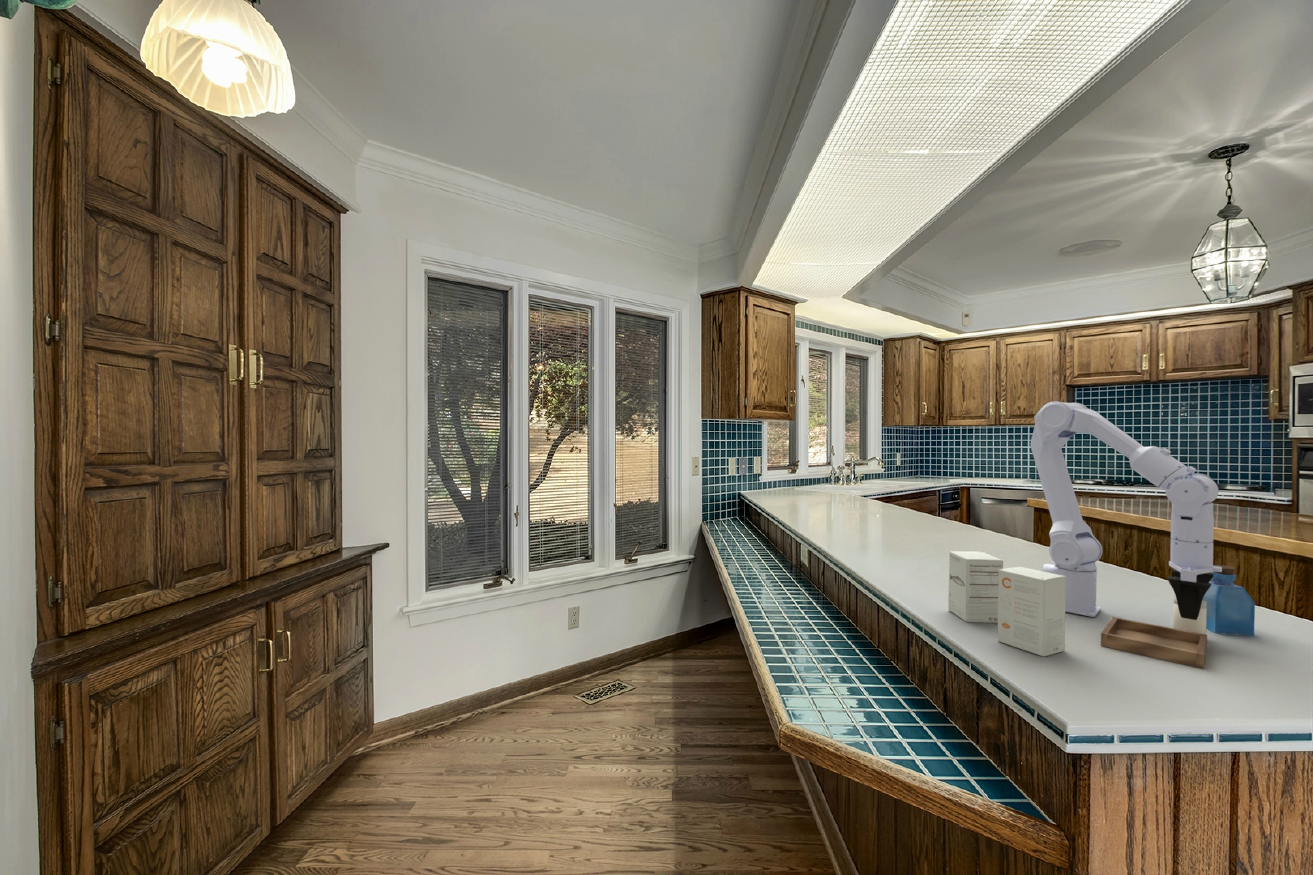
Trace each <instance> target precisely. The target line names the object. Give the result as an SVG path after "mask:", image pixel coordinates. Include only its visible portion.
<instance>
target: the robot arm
mask: <svg viewBox="0 0 1313 875" xmlns="http://www.w3.org/2000/svg"><path fill="white" fill-rule="evenodd" d="M1033 419H1034V423H1035V424H1034V428H1033V432H1032V435H1031V440H1030V449H1031V452H1032V456H1033V458H1034V463H1035V466H1036V470H1037V473H1038V476H1039V479H1040V483H1041V487H1042V491H1043V493H1044V497H1045V501H1046V504H1047V507H1048V512H1049V514H1050V518H1051V521H1052V526H1051V528H1050V530H1049V533H1048V535H1049V538H1050V543H1049V544H1050V545H1049V548H1048V549H1049V550H1048V552H1049V556H1050V559H1051V560H1052V561H1053V562H1054V564H1052V563H1044V564H1043V566H1042V568H1041V571H1043V572H1048V573H1053V574H1057V575H1062V576H1065V613H1070V614H1077V615H1081V616H1087V617H1091V618H1094V617H1097V615H1098V613H1099V612H1100V611H1101V610H1102V606H1099V605H1098V606H1097V581H1098V579H1097V576H1098V568H1097V565H1096V562H1098V561H1099V560H1100V559H1101V558H1102V555H1103V546H1102V544H1101V543H1100V541H1099V540H1098V539H1097V538H1096V537H1095V536H1094V534H1093V531H1092V527H1090V526H1089V524H1087V523H1086V522H1085V521H1084V520H1083V516H1082V513H1081V509H1080V506H1079V503H1078V501H1077V500H1078V499H1077V496H1076V493H1075V489H1074V486H1073V483H1072V479H1071V477H1070V476H1071V475H1070V473H1069V469H1068V467H1067V463H1066V460H1065V457H1064V453H1063V450H1062V448H1063V447H1064V446H1065V445H1066V443H1067V442H1068V441H1070V439H1071V437H1073V436H1075V435H1077V434H1078V433H1080V434H1085V435H1091V436H1093V437H1094V438H1096V439H1098V440H1099V441H1101V442H1103V443H1104V444H1105V445H1107V446H1109V447H1111V448H1112V449H1114V450H1115V451H1117V452H1118V453H1120V454H1121V455H1122V456H1124V457H1126V458H1127V459H1128V460H1129V466H1130V469H1132V471H1134V472H1136V473H1137V474H1139V475H1140V476H1142V477H1143V478H1144V479H1146V480H1147V481H1149V482H1150V483H1151V484H1153V485H1154V486H1155V487H1157V488H1159V489H1160V490H1162V491H1165V492H1164V493H1165V495H1166V497H1167V499H1168V500H1169V501H1170V502H1171V514H1170V552H1169V553H1170V560H1169V561H1168V566H1169V567H1170V568H1172V573H1173V575H1174V576H1172V575H1171V576H1170V575H1168V577H1167V581H1168V583H1169V585H1170V587H1171V588H1172V589H1173V590H1172V591H1173V592H1174V596H1176V599H1177V603H1178V608H1179V612H1180V616H1181V618H1186V619H1192V620H1197V618H1198V616H1199V612H1200V608H1201V603H1202V600H1203V597H1204V595H1205V593H1206V592H1207V591H1208V589H1209V588H1210V587H1211V583H1209V581H1212V578H1213V573H1211V572H1222V567H1218V566H1213V565H1214V530H1215V529H1214V527H1215V526H1214V525H1215V518H1214V503H1212V502H1213V501H1215V500H1216V499H1217V498H1218V496H1219V487H1218V485H1217V483H1216V482H1215V481H1214V479H1212V478H1211V477H1210V476H1209V475H1207V474H1203V473H1195V472H1196V471H1197V468H1195V467H1194V466H1192V465H1191V466H1187V465H1185V464H1184V463H1182V462H1181V461H1180V460H1178V459H1176V458H1174V457H1173V456H1172V455H1171V454H1172V451H1170V450H1169V449H1168V448H1166V447H1161V448H1159V446H1156V445H1155V446H1154V445H1152V446H1143V445H1142V444H1141V443H1139V442H1138V441H1137V440H1136V439H1134V438H1133V437H1131V436H1130V435H1129V434H1127V433H1126V432H1125V431H1123V430H1122V429H1120V428H1119V427H1118V426H1116V425H1115V424H1113V423H1112V422H1111V421H1110V420H1108V419H1106V418H1105V417H1104V416H1102V414H1100V413H1098V411H1095V410H1094V409H1091V408H1088V407H1087V406H1086V405H1085V404H1083V403H1081V402H1080V403H1079V402H1062V401H1051V402H1047V403H1046V404H1044V405H1043V406H1042V407H1041V408H1040V409H1039V410H1038V412H1037V413H1036V414H1035V415H1034V417H1033Z"/></svg>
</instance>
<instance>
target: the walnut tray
mask: <svg viewBox="0 0 1313 875" xmlns="http://www.w3.org/2000/svg"><path fill="white" fill-rule="evenodd" d="M1100 646H1101V647H1105V648H1110V649H1113V650H1118V651H1123V652H1128V653H1131V654H1135V655H1141V656H1146V657H1149V658H1154V659H1159V660H1164V661H1168V662H1171V663H1172V662H1173V663H1176V664H1182V665H1185V666H1186V665H1187V666H1190V667H1196V668H1199V669H1204V665H1205V659H1206V654H1207V649H1208V634H1206V635H1205V634H1200V633H1195V632H1190V631H1185V630H1179V629H1174V628H1173V627H1169V626H1164V625H1158V624H1152V623H1147V622H1143V621H1142V622H1141V621H1138V620H1137V621H1136V620H1134V619H1133V620H1132V619H1127V618H1121V617H1118V616H1117V617H1115V616H1112V618H1111V619H1110V620H1109V622H1108V623H1107V624H1106V626H1105V627H1104V628H1103V630H1102V631H1101V633H1100Z"/></svg>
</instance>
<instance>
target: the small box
mask: <svg viewBox="0 0 1313 875" xmlns="http://www.w3.org/2000/svg"><path fill="white" fill-rule="evenodd" d="M997 642H999V643H1003V644H1005V645H1008V646H1011V647H1015V648H1016V649H1021V650H1023V651H1027V652H1029V653H1032V654H1034V655H1038V656H1041V657H1047V656H1051V655H1054V654H1055V655H1056V654H1057V653H1061V652H1064V651H1065V650H1066V612H1065V576H1062V575H1057V574H1053V573H1048V572H1043V571H1042V570H1037V569H1033V568H1028V567H1023V566H1014V567H1007V568H1005V567H1004V568H1003V569H999V582H998V623H997Z"/></svg>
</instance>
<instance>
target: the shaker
mask: <svg viewBox="0 0 1313 875" xmlns="http://www.w3.org/2000/svg"><path fill="white" fill-rule="evenodd" d="M1206 612H1207V602H1206V601H1205V600H1202V603H1201V608H1200V612H1199V616H1198V618H1197V620H1192V619H1186V618H1181V616H1180V612H1179V608H1178V603H1177V599H1176V595H1174V597H1173V624H1172V626H1173V627H1172V628H1174V629H1179V630H1185V631H1190V632H1195V633H1200V634H1205V635H1207V629H1206Z"/></svg>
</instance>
